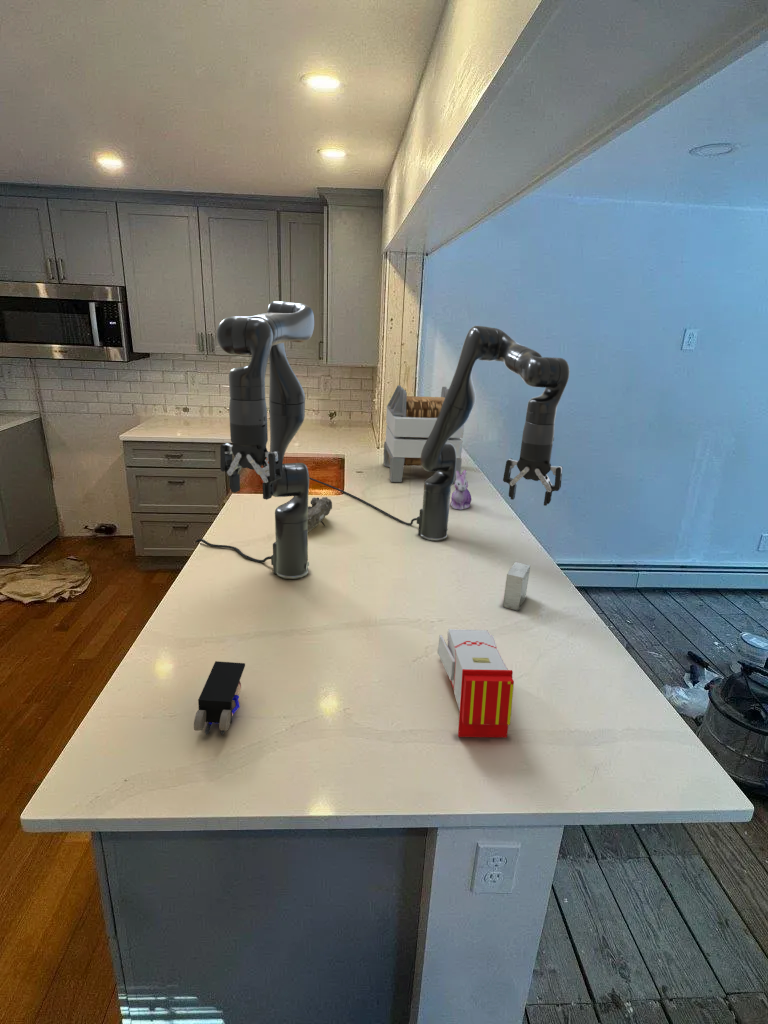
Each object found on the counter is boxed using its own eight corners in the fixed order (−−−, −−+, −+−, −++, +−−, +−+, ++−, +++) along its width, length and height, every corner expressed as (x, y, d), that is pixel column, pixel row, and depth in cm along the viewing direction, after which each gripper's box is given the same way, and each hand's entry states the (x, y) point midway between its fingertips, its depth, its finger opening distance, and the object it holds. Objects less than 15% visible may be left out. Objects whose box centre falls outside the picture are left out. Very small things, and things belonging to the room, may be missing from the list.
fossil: (299, 502, 213) (329, 481, 208) (315, 521, 216) (345, 501, 211) (284, 530, 194) (317, 507, 189) (302, 550, 196) (335, 528, 191)
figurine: (458, 511, 224) (461, 475, 219) (444, 503, 233) (446, 468, 228) (477, 508, 228) (481, 473, 223) (462, 501, 237) (466, 466, 232)
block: (502, 606, 153) (506, 574, 150) (510, 593, 161) (514, 562, 158) (518, 610, 152) (523, 577, 148) (525, 597, 159) (530, 565, 156)
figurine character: (231, 748, 102) (248, 688, 116) (228, 717, 99) (246, 659, 113) (194, 747, 102) (215, 687, 116) (189, 716, 99) (212, 658, 112)
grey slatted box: (382, 463, 289) (386, 382, 275) (445, 464, 293) (451, 384, 279) (390, 482, 257) (394, 392, 243) (460, 483, 261) (468, 394, 247)
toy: (488, 613, 130) (523, 677, 101) (484, 667, 133) (517, 744, 104) (435, 612, 130) (455, 676, 101) (432, 666, 133) (451, 743, 103)
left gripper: (208, 418, 116) (213, 493, 122) (265, 427, 110) (267, 505, 116) (233, 413, 123) (236, 485, 128) (287, 421, 117) (289, 496, 122)
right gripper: (505, 439, 140) (498, 501, 146) (564, 447, 135) (554, 511, 140) (512, 433, 147) (505, 493, 152) (569, 441, 141) (559, 502, 147)
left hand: (251, 495), depth 122 cm, fingers open, 8 cm apart
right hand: (529, 501), depth 146 cm, fingers open, 8 cm apart
